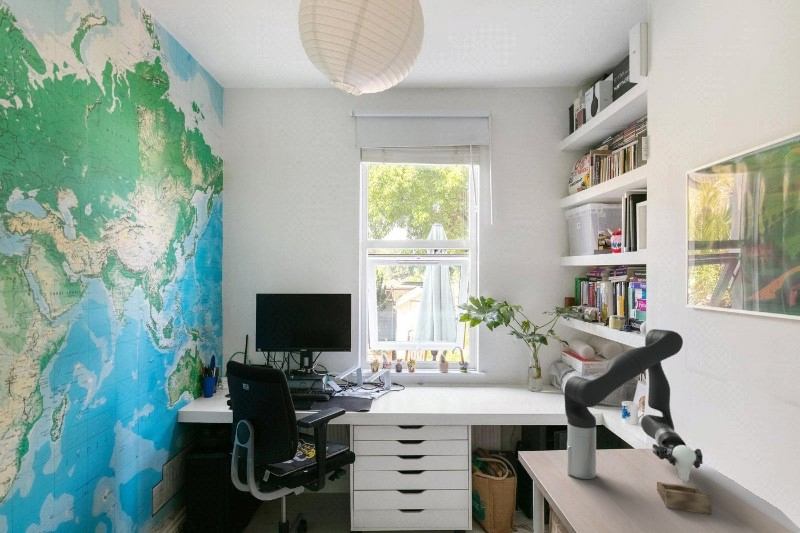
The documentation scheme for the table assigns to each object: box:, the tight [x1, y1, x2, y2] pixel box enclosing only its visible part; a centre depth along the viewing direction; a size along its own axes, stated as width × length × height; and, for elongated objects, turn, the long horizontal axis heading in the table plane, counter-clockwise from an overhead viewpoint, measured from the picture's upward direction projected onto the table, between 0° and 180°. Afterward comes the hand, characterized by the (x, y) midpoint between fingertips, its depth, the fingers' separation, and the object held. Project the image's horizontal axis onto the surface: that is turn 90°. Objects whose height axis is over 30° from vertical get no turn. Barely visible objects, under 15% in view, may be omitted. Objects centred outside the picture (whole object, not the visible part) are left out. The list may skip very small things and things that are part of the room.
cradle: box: [656, 481, 712, 515], centre depth 133 cm, size 11×11×5 cm
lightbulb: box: [672, 445, 696, 483], centre depth 134 cm, size 6×6×11 cm
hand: (685, 463), depth 131 cm, fingers closed on lightbulb, 5 cm apart
